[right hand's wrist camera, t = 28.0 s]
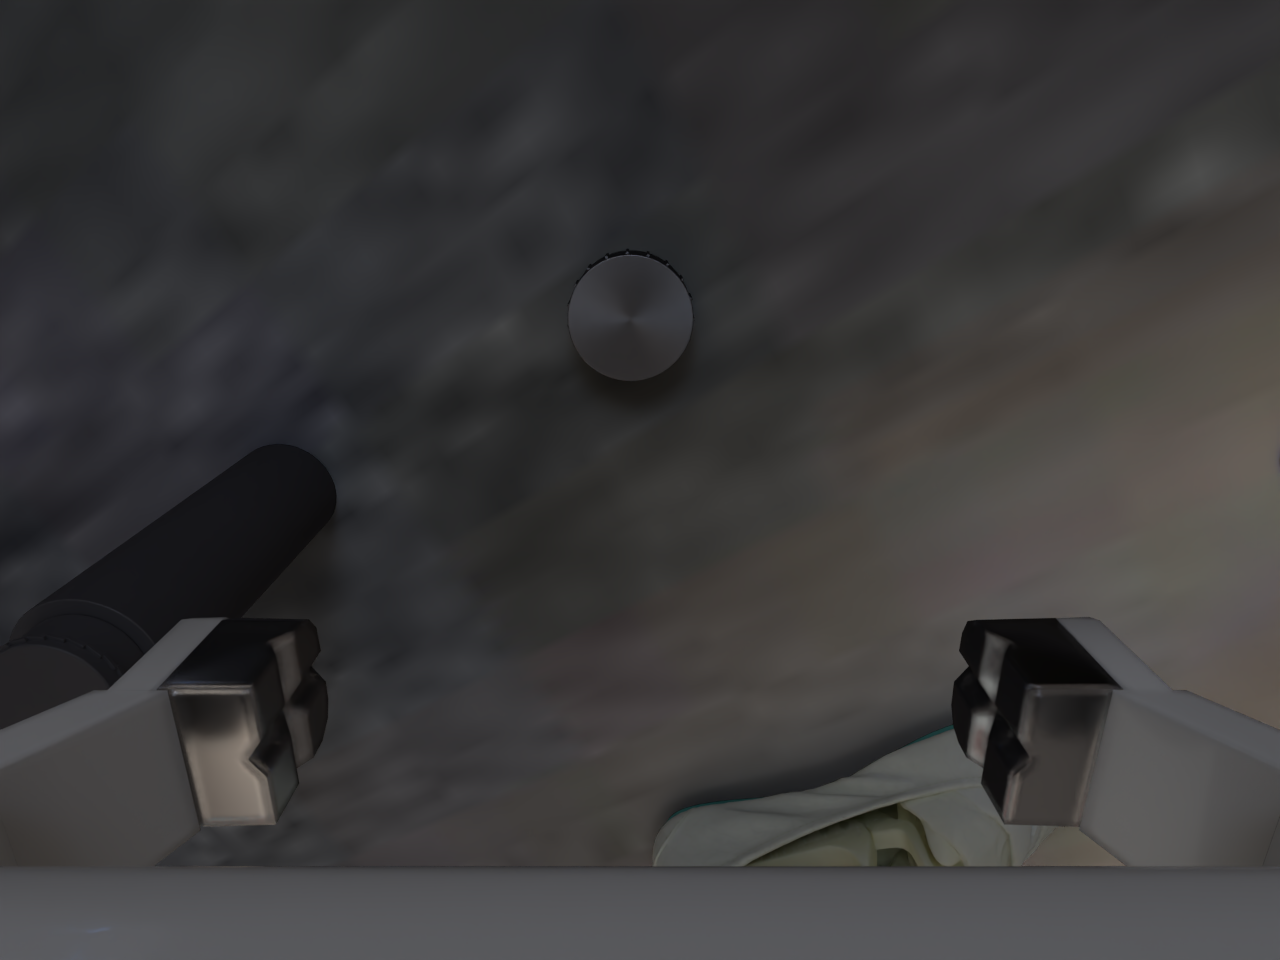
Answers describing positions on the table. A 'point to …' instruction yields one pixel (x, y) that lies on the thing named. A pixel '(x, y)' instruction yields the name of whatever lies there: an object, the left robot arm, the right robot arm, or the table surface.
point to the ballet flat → (860, 819)
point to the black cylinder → (167, 579)
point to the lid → (630, 315)
